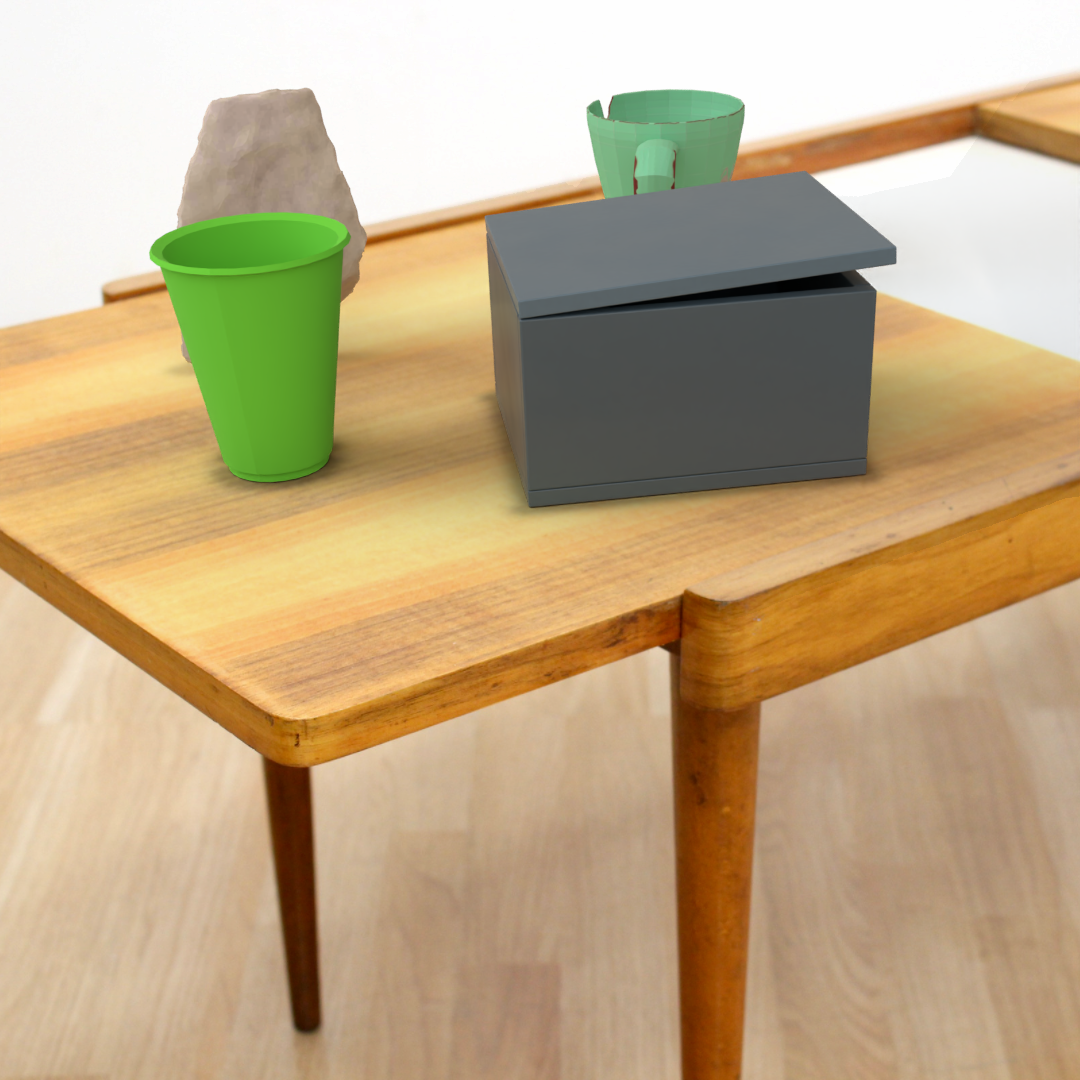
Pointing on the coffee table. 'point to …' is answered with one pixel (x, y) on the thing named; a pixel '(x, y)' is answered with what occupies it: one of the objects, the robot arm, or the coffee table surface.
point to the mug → (665, 140)
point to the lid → (680, 243)
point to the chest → (686, 388)
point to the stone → (270, 168)
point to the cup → (261, 333)
